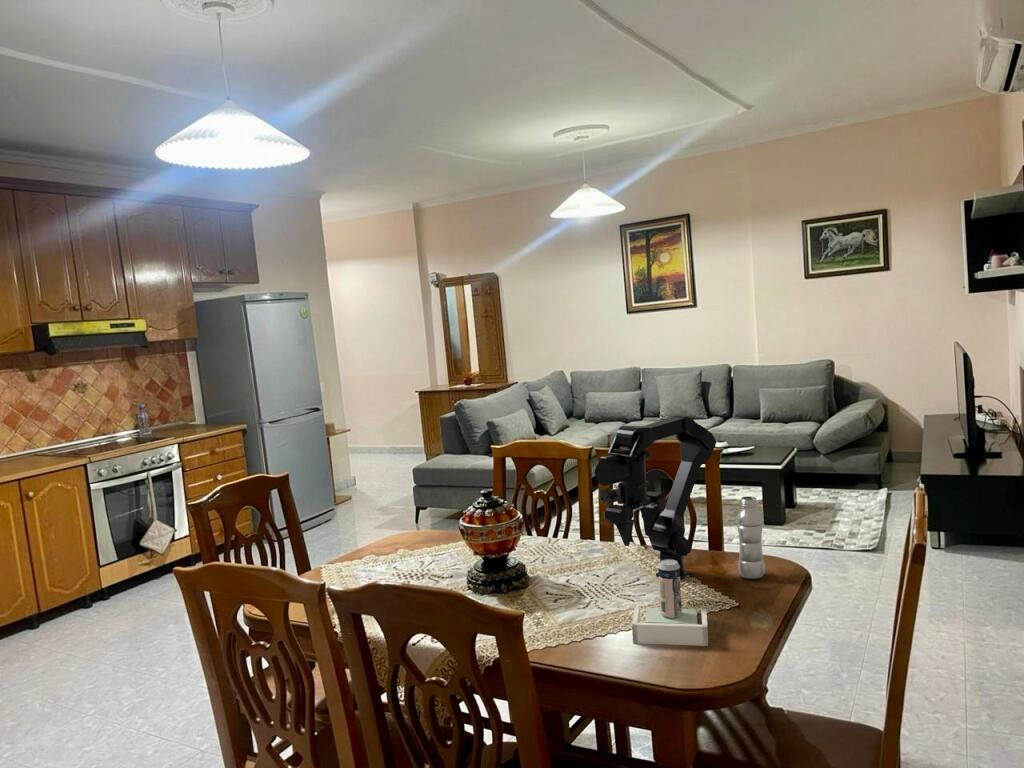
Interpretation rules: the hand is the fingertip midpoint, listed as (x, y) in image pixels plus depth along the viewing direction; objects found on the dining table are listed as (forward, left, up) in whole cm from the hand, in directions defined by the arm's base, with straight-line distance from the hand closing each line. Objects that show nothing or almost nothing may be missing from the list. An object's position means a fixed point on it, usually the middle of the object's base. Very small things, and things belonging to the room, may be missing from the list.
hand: (637, 540), depth 179 cm
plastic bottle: (-21, +19, -12) cm, 31 cm away
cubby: (+18, +20, -12) cm, 29 cm away
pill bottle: (+11, +15, -12) cm, 22 cm away
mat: (+11, +15, -12) cm, 22 cm away
